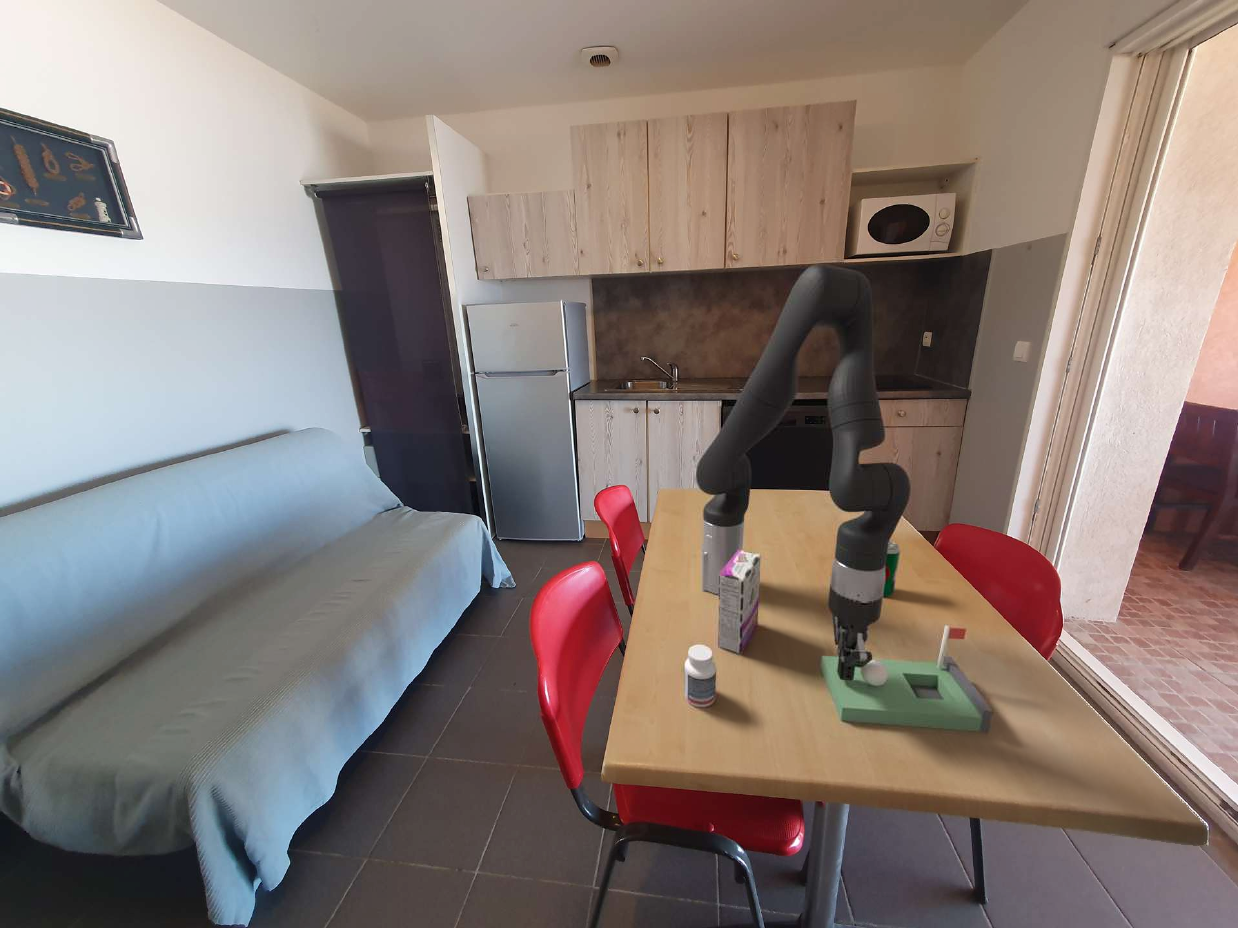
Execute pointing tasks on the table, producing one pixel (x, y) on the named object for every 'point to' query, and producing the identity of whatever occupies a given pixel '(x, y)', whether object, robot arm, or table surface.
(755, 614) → the candy bar box
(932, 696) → the green
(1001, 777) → the table surface
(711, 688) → the pill bottle
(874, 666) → the ball
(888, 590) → the soda can
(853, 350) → the robot arm
